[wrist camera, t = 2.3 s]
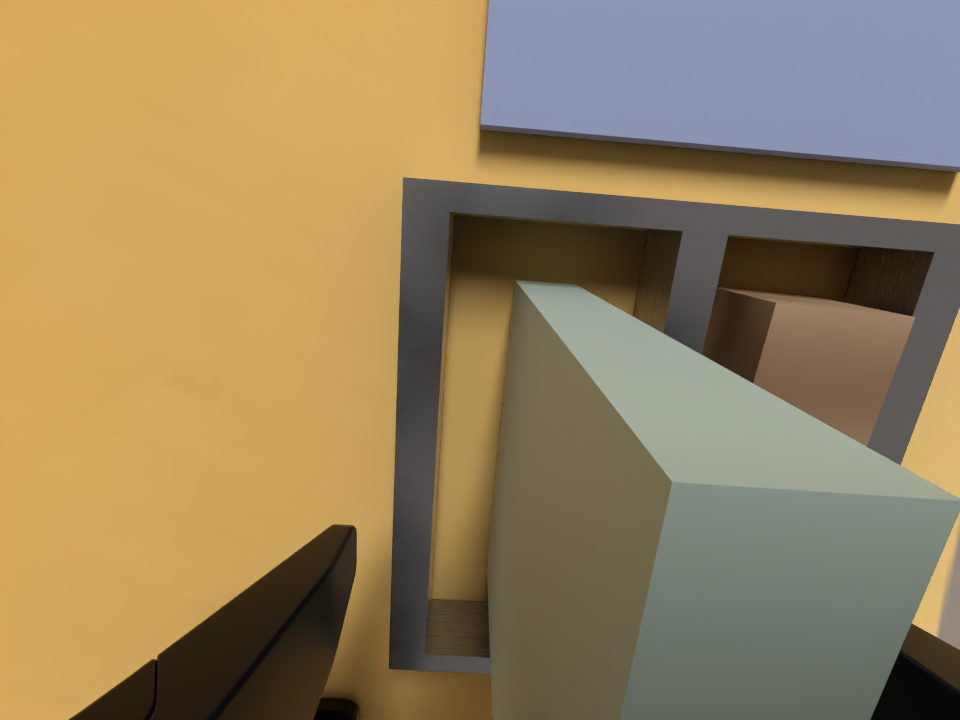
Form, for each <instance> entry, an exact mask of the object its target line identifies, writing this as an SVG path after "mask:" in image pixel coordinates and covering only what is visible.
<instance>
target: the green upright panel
mask: <svg viewBox="0 0 960 720" xmlns="http://www.w3.org/2000/svg"><path fill="white" fill-rule="evenodd" d="M959 512H960V498H958V497H956V496H954V495H952V494H951V493H949V492H947V491H945V490H943V489H942V488H940V487H938V486H936V485H934V484H933V483H931V482H929V481H927V480H925V479H924V478H922V477H920V476H918V475H916V474H915V473H913V472H911V471H909V470H907V469H906V468H904V467H902V466H900V465H899V464H897V463H895V462H893V461H891V460H890V459H888V458H886V457H884V456H882V455H881V454H879V453H877V452H875V451H873V450H872V449H870V448H868V447H866V446H864V445H863V444H861V443H859V442H857V441H855V440H854V439H852V438H850V437H848V436H846V435H845V434H843V433H841V432H839V431H837V430H836V429H834V428H832V427H830V426H829V425H827V424H825V423H823V422H821V421H820V420H818V419H816V418H814V417H812V416H811V415H809V414H807V413H805V412H803V411H802V410H800V409H798V408H796V407H794V406H793V405H791V404H789V403H787V402H785V401H784V400H782V399H780V398H778V397H776V396H775V395H773V394H771V393H769V392H767V391H766V390H764V389H762V388H760V387H759V386H757V385H755V384H753V383H751V382H750V381H748V380H746V379H744V378H742V377H741V376H739V375H737V374H735V373H733V372H732V371H730V370H728V369H726V368H724V367H723V366H721V365H719V364H717V363H715V362H714V361H712V360H710V359H708V358H706V357H705V356H703V355H701V354H699V353H697V352H696V351H694V350H692V349H690V348H689V347H687V346H685V345H683V344H681V343H680V342H678V341H676V340H674V339H672V338H671V337H669V336H667V335H665V334H663V333H662V332H660V331H658V330H656V329H654V328H653V327H651V326H649V325H647V324H645V323H644V322H642V321H640V320H638V319H636V318H635V317H633V316H631V315H629V314H628V313H626V312H624V311H622V310H620V309H619V308H617V307H615V306H613V305H611V304H610V303H608V302H606V301H604V300H602V299H601V298H599V297H597V296H595V295H593V294H592V293H590V292H588V291H586V290H584V289H583V288H581V287H579V286H577V285H575V284H568V283H555V282H542V281H529V280H517V279H515V282H514V292H513V302H512V313H511V323H510V333H509V343H508V353H507V363H506V373H505V383H504V394H503V404H502V414H501V424H500V434H499V444H498V454H497V464H496V475H495V485H494V495H493V505H492V515H491V525H490V535H489V546H488V556H487V584H488V613H489V643H490V672H491V702H492V720H870V719H871V717H872V714H873V712H874V710H875V707H876V705H877V703H878V700H879V698H880V696H881V693H882V691H883V689H884V686H885V684H886V682H887V679H888V677H889V675H890V672H891V670H892V668H893V665H894V663H895V661H896V659H897V656H898V654H899V652H900V649H901V647H902V645H903V642H904V640H905V638H906V635H907V633H908V631H909V628H910V626H911V624H912V621H913V619H914V617H915V614H916V612H917V610H918V607H919V605H920V603H921V600H922V598H923V596H924V593H925V591H926V589H927V586H928V584H929V582H930V579H931V577H932V575H933V572H934V570H935V568H936V565H937V563H938V561H939V558H940V556H941V554H942V551H943V549H944V547H945V544H946V542H947V540H948V537H949V535H950V533H951V530H952V528H953V526H954V523H955V521H956V519H957V516H958V514H959Z"/></svg>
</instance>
